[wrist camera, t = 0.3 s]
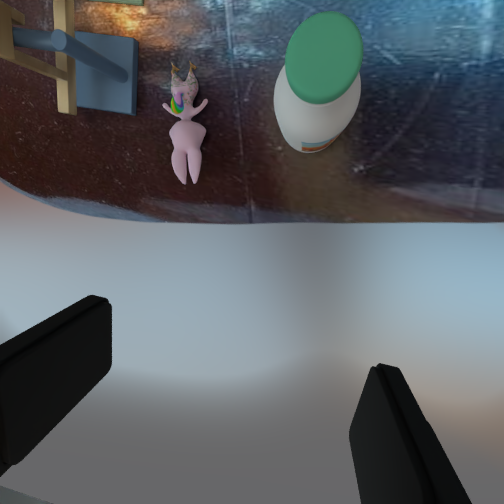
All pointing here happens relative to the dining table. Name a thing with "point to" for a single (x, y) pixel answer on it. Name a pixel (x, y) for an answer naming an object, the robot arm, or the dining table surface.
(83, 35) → the rail stand
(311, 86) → the milk bottle
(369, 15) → the dining table surface
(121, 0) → the mat
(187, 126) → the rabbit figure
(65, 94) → the hanger
